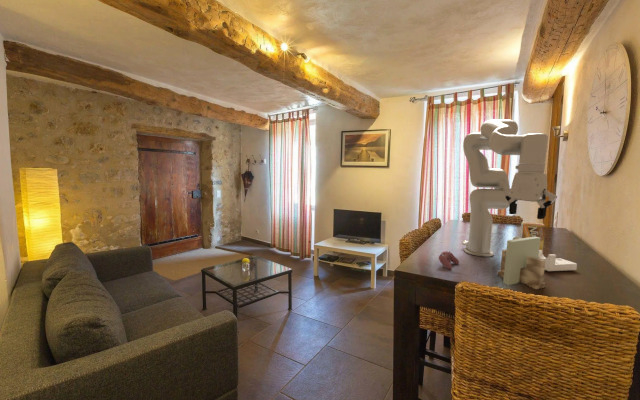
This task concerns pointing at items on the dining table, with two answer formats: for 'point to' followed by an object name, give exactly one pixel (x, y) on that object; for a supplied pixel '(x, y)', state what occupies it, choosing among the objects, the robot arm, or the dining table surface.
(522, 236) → the candy box
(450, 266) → the video game controller
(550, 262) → the bracket
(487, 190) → the robot arm
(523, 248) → the sage plate
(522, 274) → the birch stand
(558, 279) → the dining table surface
